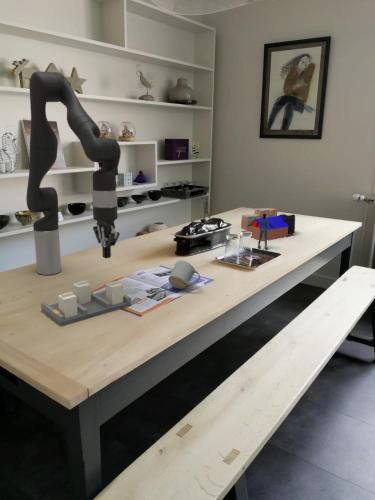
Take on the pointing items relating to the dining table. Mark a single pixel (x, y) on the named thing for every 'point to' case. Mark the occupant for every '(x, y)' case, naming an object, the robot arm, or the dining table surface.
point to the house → (269, 228)
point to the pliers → (205, 207)
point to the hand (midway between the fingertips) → (106, 257)
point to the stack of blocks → (257, 216)
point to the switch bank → (85, 308)
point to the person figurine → (263, 230)
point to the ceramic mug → (182, 275)
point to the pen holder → (289, 222)
